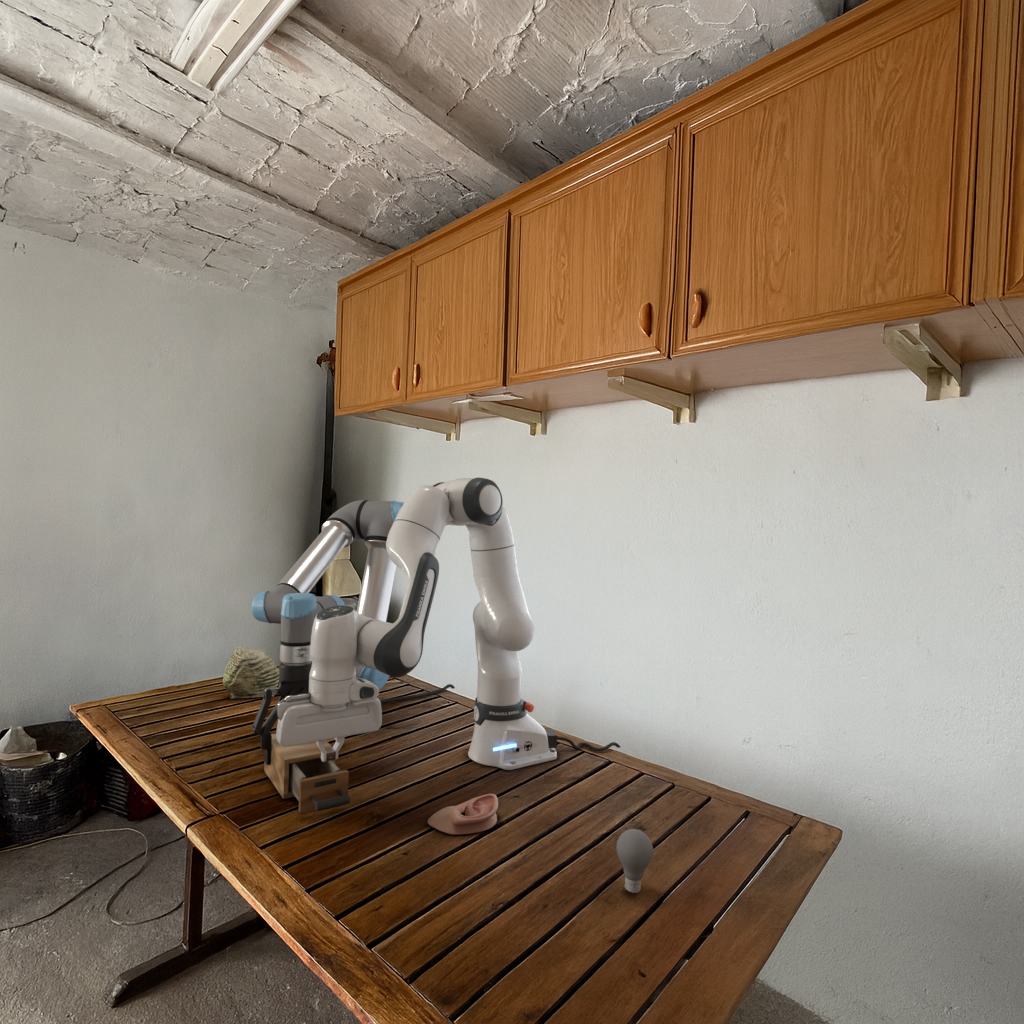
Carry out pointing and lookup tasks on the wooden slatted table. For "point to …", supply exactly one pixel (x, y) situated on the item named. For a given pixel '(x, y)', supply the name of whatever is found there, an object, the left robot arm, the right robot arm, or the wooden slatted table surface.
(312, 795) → the drawer
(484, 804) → the anatomical model
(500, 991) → the wooden slatted table surface
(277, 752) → the cabinet
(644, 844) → the light bulb
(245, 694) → the fossil
